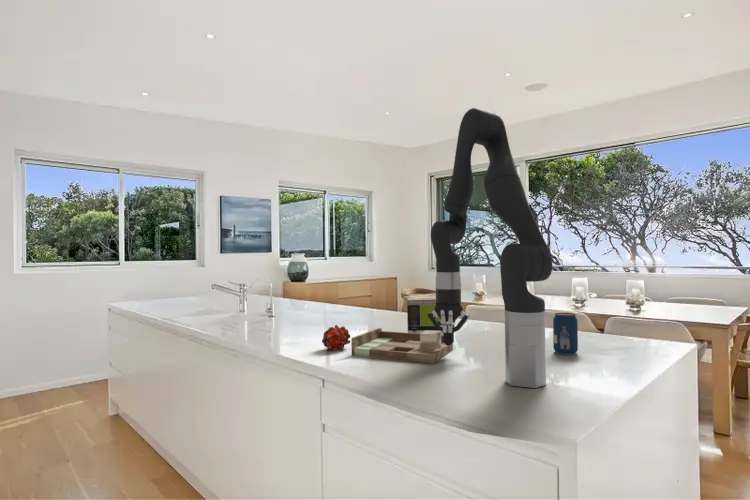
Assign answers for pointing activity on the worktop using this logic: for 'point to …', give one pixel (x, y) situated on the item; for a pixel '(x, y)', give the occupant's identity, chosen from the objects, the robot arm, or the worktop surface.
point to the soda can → (565, 333)
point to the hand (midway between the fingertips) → (448, 344)
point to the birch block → (430, 339)
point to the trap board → (396, 347)
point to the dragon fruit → (336, 338)
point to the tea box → (421, 314)
